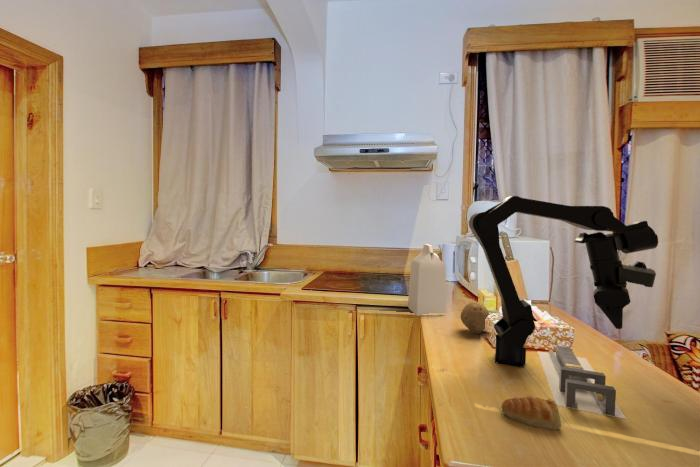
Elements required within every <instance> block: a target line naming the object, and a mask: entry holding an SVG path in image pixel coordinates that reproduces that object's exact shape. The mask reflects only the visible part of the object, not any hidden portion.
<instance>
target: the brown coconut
mask: <svg viewBox="0 0 700 467" xmlns="http://www.w3.org/2000/svg"><path fill="white" fill-rule="evenodd" d="M488 315H490V316H491V314H490V311H489V310H488V309H487V307H486V306H485V305H484V304H482V303H481V302H479V301H471V302H470V301H469V302H468V303H467V304H465V305H464V306H463V309H462V310H461V312H460V319H461V322H462V323H463V325H464V326H465V327H466V328H467V329H468V330H469V331H470V332H471V333H473V334H475V333H478V334H480V333H482V332H483V331H485V330H486V329H485V319H486V317H487V316H488Z"/></svg>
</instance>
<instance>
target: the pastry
mask: <svg viewBox="0 0 700 467" xmlns="http://www.w3.org/2000/svg"><path fill="white" fill-rule="evenodd" d="M501 410H502V412H503V413H504V414H505V415H506V416H507V417H508V418H510V419H511V420H515V421H518V422H520V423H524V424H525V425H528V426H534V427H537V428H541V429H546V430H555V431H557V430H559V429H560V428H561V427H562V420H561V414H560V412H559V406H557V404H556V402H555V400H554V399H552V398H548V399H545V398H541V397H540V396H539V397H537V396H533V395H527V396H525V397H512V398H508V399H505V400H504V401H503V402H502V404H501Z"/></svg>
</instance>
